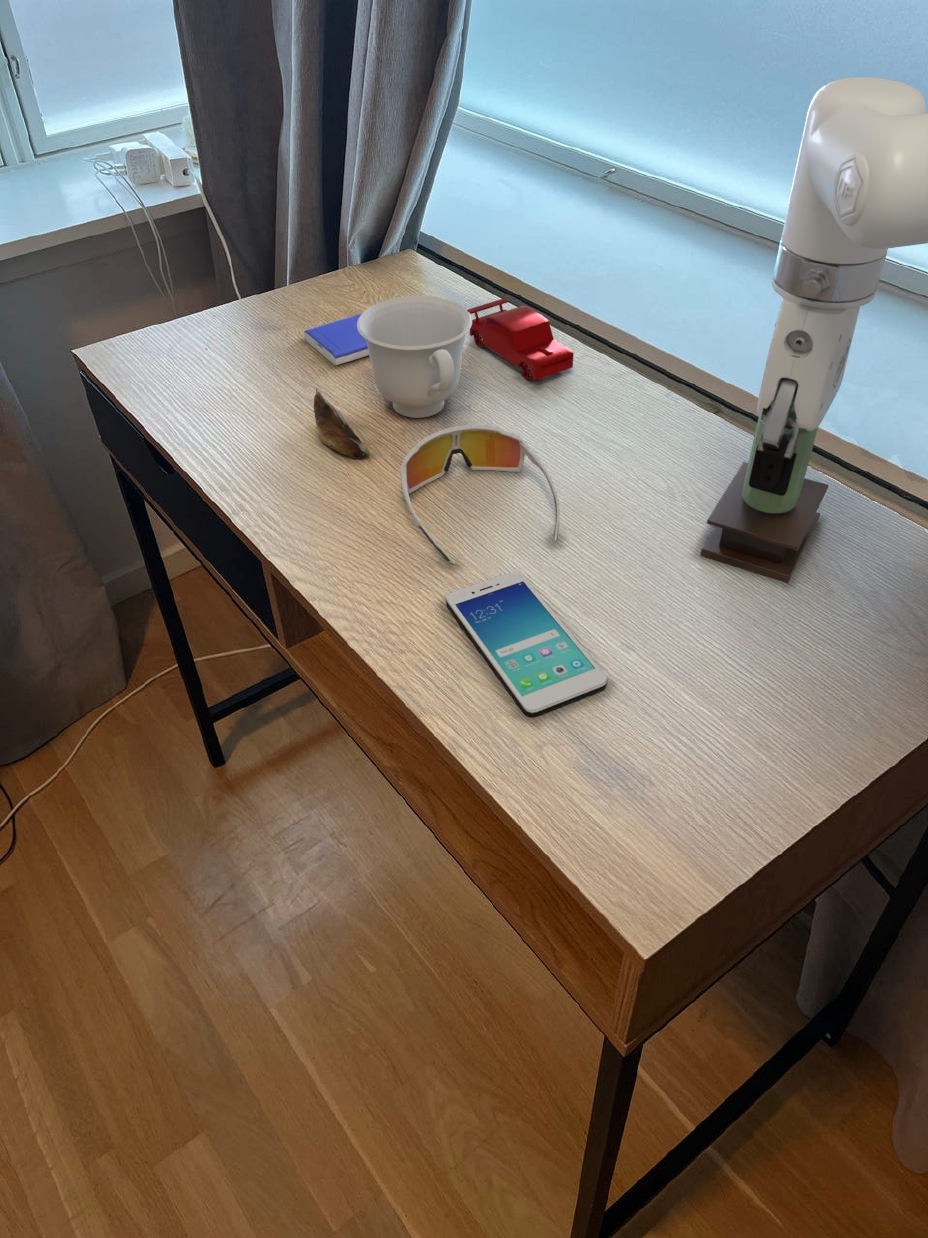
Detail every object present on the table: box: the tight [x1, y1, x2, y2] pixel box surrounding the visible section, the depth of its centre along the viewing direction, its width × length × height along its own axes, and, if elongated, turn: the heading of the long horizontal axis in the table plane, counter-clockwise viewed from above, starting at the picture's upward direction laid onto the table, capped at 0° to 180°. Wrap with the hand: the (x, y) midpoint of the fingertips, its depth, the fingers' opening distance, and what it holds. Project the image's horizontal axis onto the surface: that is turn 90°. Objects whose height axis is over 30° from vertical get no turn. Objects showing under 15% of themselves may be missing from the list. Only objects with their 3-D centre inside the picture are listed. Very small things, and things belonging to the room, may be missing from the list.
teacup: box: [357, 295, 473, 419], centre depth 103 cm, size 12×15×10 cm
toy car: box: [466, 297, 575, 381], centre depth 113 cm, size 14×6×5 cm, turn 34°
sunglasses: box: [399, 424, 560, 565], centre depth 92 cm, size 14×15×5 cm
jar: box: [742, 412, 819, 513], centre depth 83 cm, size 5×5×8 cm
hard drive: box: [303, 312, 369, 366], centre depth 118 cm, size 2×8×12 cm
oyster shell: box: [313, 387, 370, 459], centre depth 101 cm, size 6×4×10 cm
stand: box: [700, 461, 830, 584], centre depth 88 cm, size 8×10×4 cm
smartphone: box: [445, 571, 608, 718], centre depth 79 cm, size 8×1×15 cm
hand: (776, 471), depth 84 cm, fingers closed on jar, 4 cm apart
